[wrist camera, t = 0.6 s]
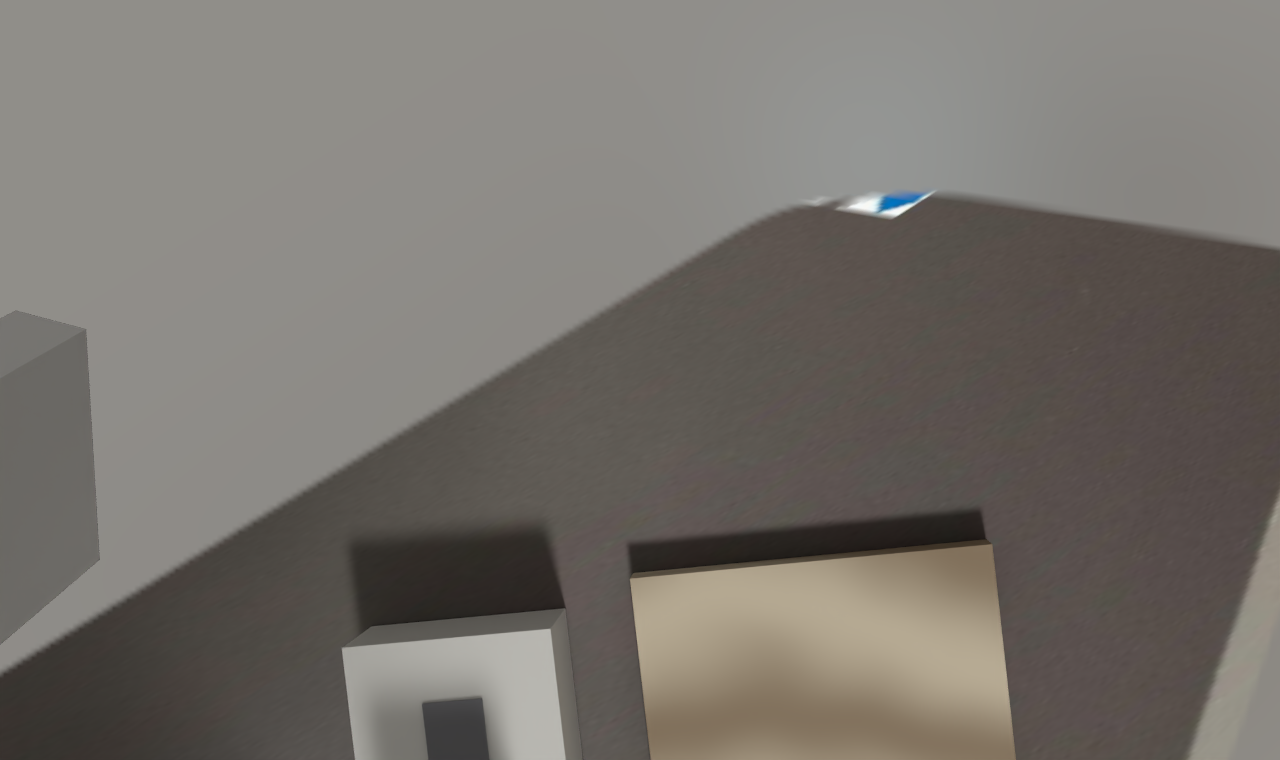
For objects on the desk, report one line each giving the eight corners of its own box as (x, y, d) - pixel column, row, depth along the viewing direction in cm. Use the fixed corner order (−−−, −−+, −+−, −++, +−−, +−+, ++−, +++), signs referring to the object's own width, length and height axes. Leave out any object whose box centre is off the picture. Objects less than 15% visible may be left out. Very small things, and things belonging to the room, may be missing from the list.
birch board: (1025, 892, 40) (1031, 906, 39) (672, 915, 41) (670, 929, 40) (986, 539, 39) (992, 544, 38) (633, 573, 41) (629, 578, 40)
